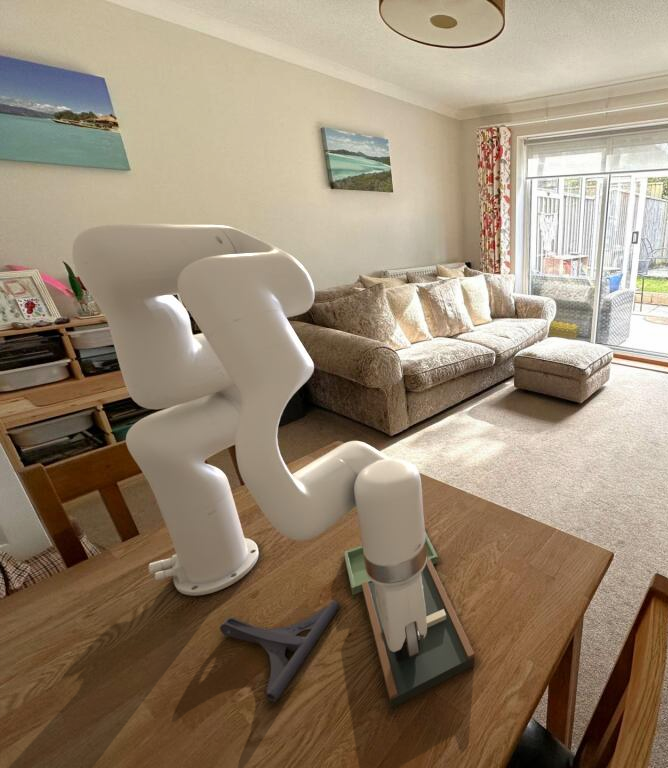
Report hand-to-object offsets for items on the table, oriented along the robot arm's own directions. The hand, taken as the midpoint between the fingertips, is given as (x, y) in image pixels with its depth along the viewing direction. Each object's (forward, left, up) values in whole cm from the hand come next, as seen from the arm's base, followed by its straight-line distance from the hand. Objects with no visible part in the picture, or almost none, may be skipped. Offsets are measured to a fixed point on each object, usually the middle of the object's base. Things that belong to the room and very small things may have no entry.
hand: (407, 652), depth 58 cm
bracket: (-18, +13, -2) cm, 22 cm away
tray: (+2, +20, -2) cm, 21 cm away
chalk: (+5, +3, 0) cm, 6 cm away
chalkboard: (+2, +5, -2) cm, 6 cm away
